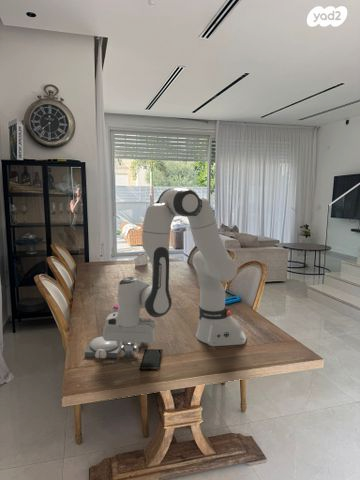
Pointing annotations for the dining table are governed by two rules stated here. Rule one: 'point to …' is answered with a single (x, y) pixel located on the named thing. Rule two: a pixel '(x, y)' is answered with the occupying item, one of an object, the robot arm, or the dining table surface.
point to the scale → (102, 348)
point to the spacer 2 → (143, 344)
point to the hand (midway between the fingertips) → (128, 350)
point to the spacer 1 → (128, 349)
